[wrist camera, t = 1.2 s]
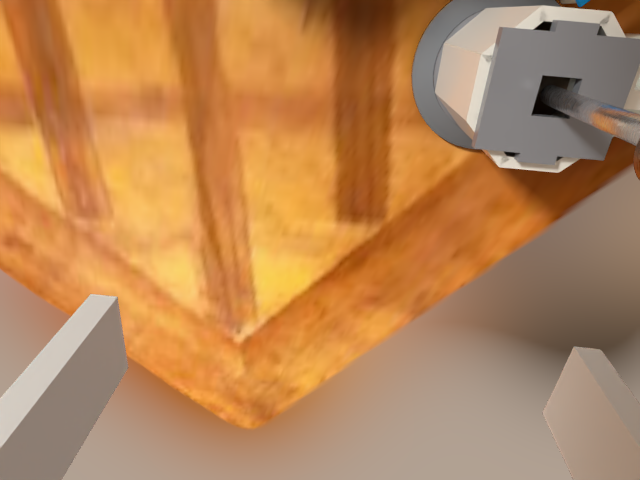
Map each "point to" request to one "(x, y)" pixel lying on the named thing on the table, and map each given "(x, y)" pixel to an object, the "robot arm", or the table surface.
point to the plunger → (597, 116)
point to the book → (579, 0)
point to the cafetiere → (534, 81)
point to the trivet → (442, 24)
